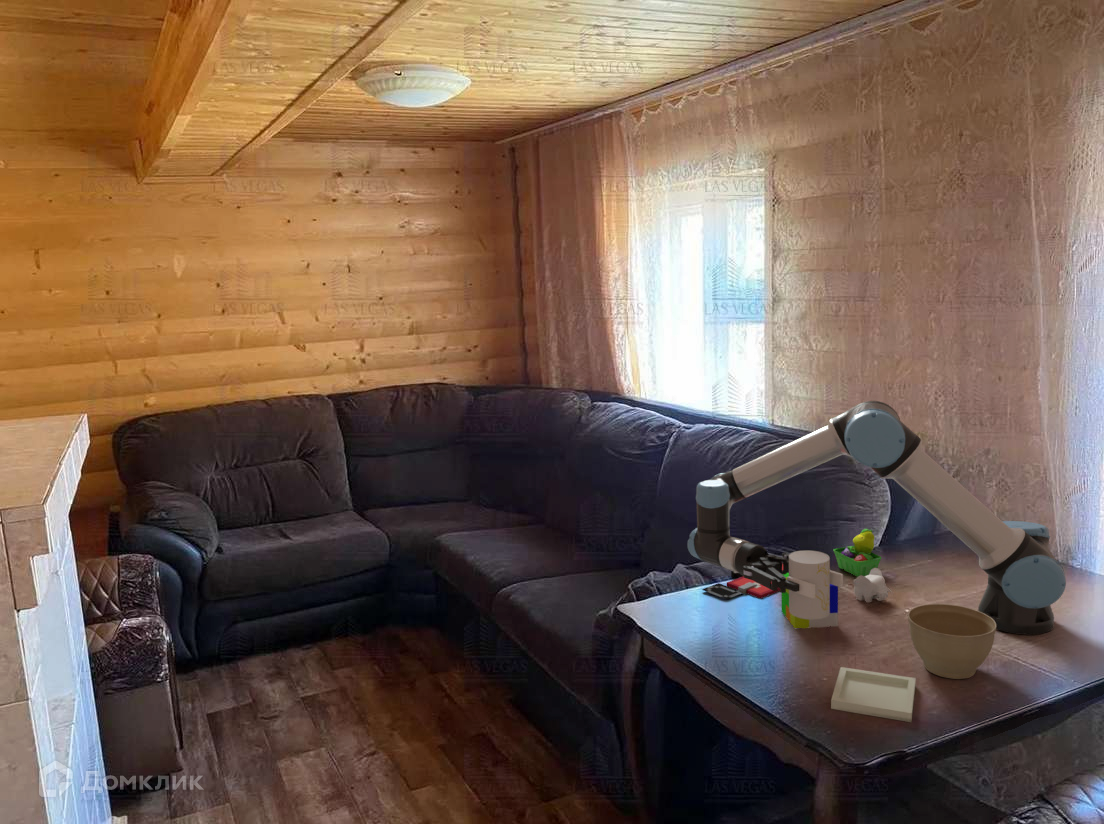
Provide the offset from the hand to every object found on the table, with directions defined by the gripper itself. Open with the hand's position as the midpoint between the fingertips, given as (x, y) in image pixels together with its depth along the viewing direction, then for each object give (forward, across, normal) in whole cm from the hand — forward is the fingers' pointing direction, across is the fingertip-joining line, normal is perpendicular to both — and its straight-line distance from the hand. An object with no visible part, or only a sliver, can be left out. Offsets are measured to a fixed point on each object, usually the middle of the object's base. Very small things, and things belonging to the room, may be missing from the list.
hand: (828, 586), depth 174 cm
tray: (+13, +3, -18) cm, 23 cm away
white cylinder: (-5, 0, -7) cm, 9 cm away
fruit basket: (-29, -50, -18) cm, 61 cm away
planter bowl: (+16, -18, -18) cm, 30 cm away
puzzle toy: (-18, -16, -18) cm, 31 cm away
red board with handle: (-42, -24, -19) cm, 52 cm away
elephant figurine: (-16, -37, -18) cm, 44 cm away
